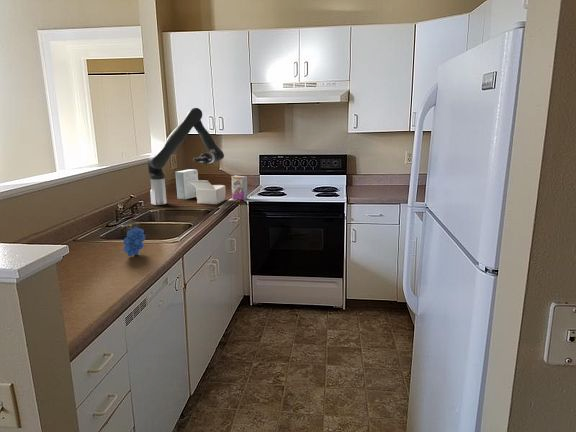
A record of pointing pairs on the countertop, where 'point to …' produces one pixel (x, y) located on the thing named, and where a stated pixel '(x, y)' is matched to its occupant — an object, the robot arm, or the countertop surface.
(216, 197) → the carton
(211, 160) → the robot arm
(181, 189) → the hard drive box
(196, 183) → the flap
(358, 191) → the countertop surface
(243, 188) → the candy bar box
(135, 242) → the grapes
